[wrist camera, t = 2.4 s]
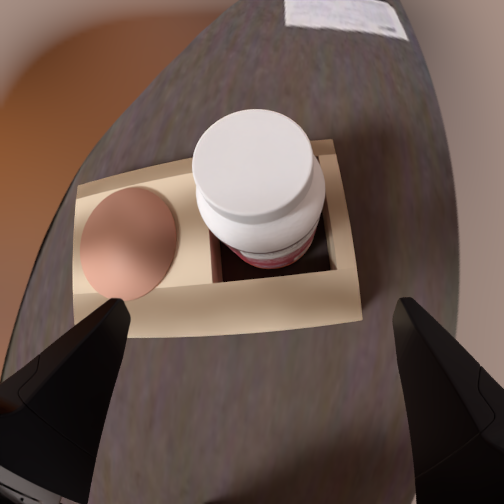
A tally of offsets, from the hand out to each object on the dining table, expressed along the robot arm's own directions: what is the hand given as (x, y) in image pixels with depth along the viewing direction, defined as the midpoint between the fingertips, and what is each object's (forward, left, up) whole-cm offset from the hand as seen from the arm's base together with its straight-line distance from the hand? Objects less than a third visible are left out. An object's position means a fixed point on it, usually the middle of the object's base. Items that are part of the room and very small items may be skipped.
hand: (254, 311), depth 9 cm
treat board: (+5, +5, -12) cm, 14 cm away
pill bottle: (+6, 0, -12) cm, 13 cm away
